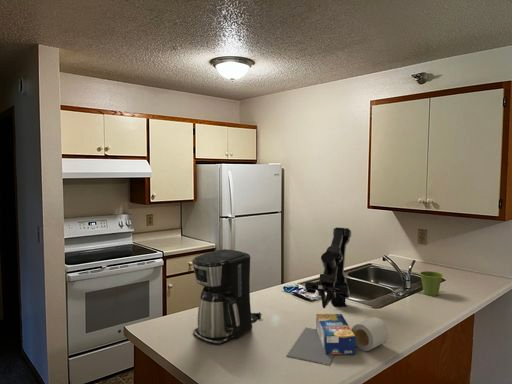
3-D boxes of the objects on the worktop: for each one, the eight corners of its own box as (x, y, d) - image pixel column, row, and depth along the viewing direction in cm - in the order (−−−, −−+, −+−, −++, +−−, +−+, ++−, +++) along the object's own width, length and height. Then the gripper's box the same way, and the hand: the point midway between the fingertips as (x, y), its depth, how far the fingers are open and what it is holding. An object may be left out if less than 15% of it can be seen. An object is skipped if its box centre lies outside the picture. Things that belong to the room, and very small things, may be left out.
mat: (305, 328, 164) (305, 327, 164) (343, 334, 158) (343, 333, 158) (286, 356, 140) (286, 355, 140) (329, 365, 134) (329, 364, 134)
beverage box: (316, 314, 162) (325, 336, 141) (341, 313, 163) (355, 336, 141) (316, 329, 163) (325, 354, 141) (341, 329, 163) (355, 354, 141)
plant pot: (435, 290, 213) (436, 270, 212) (447, 297, 201) (447, 277, 200) (414, 290, 213) (415, 270, 212) (425, 298, 201) (425, 277, 200)
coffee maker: (184, 340, 154) (182, 258, 151) (220, 311, 184) (220, 242, 181) (235, 350, 145) (234, 263, 143) (264, 318, 175) (264, 246, 173)
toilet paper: (366, 338, 155) (366, 314, 154) (388, 347, 147) (388, 322, 147) (350, 345, 149) (351, 320, 148) (372, 355, 141) (373, 329, 140)
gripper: (306, 263, 168) (298, 295, 158) (349, 268, 160) (343, 302, 151) (310, 276, 175) (303, 307, 166) (351, 281, 168) (346, 314, 159)
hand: (323, 307), depth 160 cm, fingers closed
